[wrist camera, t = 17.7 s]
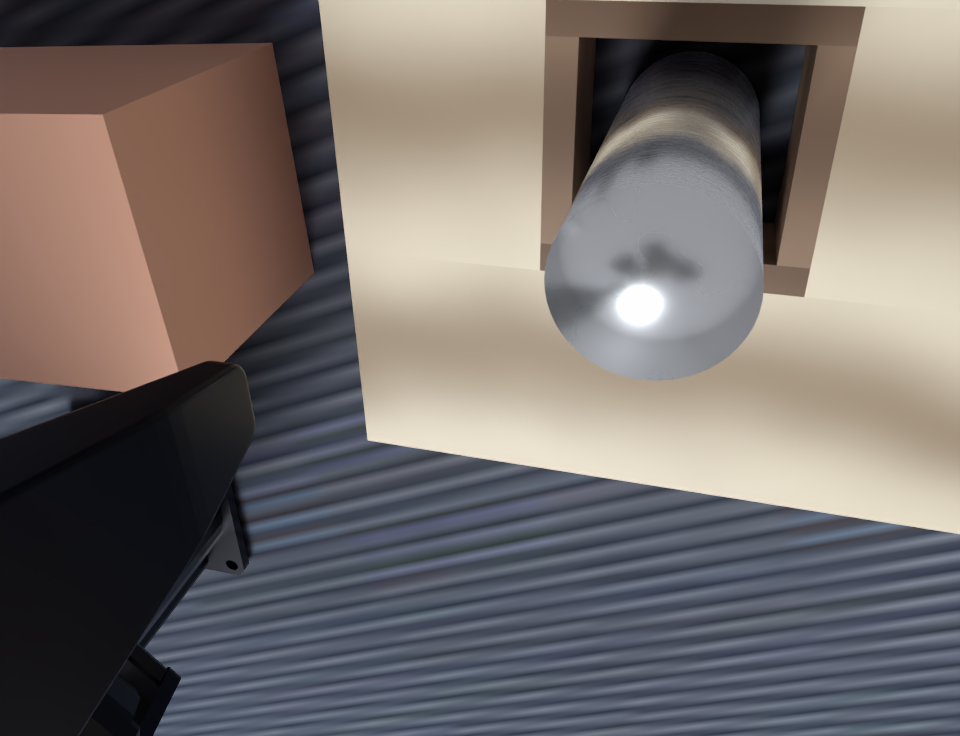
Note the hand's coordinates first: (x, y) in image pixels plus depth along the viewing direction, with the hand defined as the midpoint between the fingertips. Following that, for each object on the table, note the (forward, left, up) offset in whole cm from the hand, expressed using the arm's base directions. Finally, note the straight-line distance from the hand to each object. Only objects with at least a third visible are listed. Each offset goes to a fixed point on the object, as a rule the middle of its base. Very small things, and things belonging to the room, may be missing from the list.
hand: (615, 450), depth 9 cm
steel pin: (0, 0, -13) cm, 13 cm away
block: (-2, +15, -13) cm, 20 cm away
